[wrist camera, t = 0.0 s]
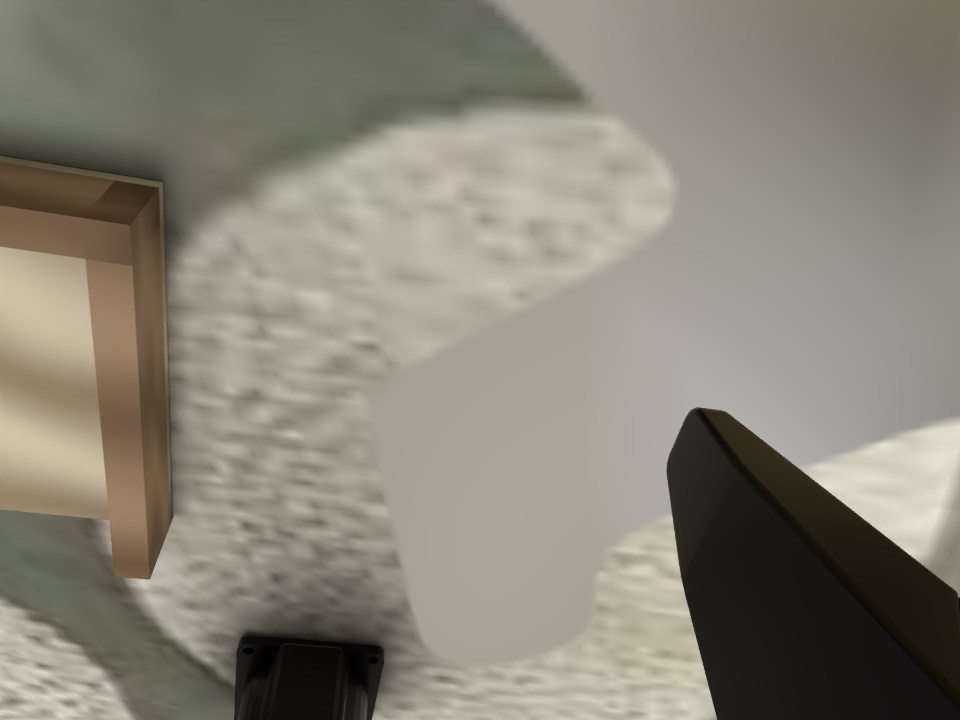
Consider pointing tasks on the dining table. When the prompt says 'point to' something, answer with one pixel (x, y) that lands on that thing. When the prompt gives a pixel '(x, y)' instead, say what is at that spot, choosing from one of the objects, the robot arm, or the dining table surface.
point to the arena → (85, 353)
